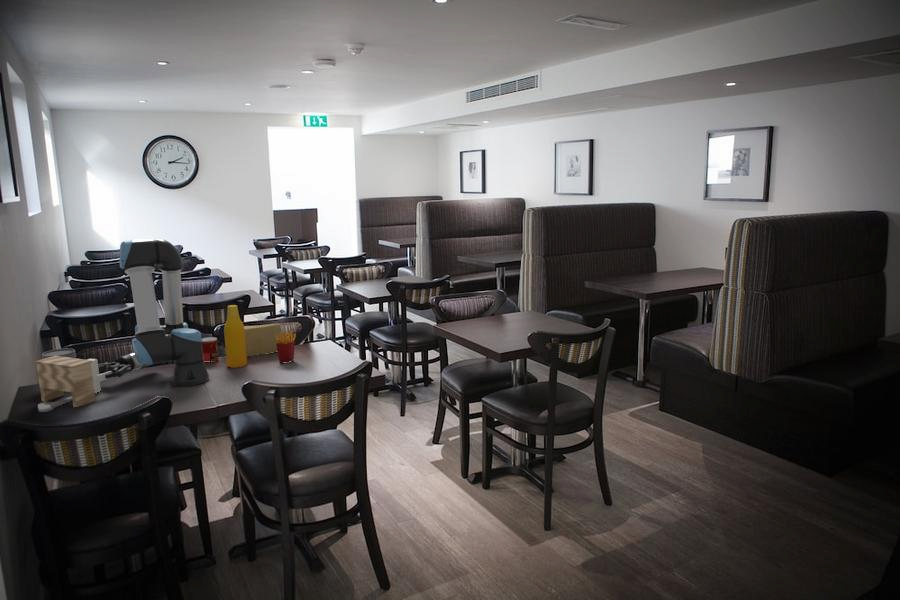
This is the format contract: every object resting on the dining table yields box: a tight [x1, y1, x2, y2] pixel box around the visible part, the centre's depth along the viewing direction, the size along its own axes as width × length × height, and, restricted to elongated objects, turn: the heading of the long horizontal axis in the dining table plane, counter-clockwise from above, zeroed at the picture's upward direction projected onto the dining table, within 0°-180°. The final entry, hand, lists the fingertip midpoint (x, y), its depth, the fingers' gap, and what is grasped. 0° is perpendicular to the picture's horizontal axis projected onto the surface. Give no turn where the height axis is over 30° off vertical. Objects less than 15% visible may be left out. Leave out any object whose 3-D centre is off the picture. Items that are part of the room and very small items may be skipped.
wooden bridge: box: [34, 356, 96, 408], centre depth 241 cm, size 21×9×17 cm, turn 68°
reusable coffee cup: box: [41, 348, 77, 360], centre depth 261 cm, size 13×13×15 cm
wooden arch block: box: [52, 358, 102, 409], centre depth 244 cm, size 20×4×14 cm, turn 158°
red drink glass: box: [201, 336, 220, 362], centre depth 297 cm, size 8×8×11 cm
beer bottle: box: [223, 304, 248, 369], centre depth 287 cm, size 9×9×29 cm
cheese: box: [244, 323, 283, 358], centre depth 308 cm, size 22×10×15 cm, turn 111°
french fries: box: [275, 330, 297, 363], centre depth 294 cm, size 9×8×15 cm
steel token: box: [37, 401, 55, 413], centre depth 234 cm, size 5×5×2 cm
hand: (85, 377), depth 249 cm, fingers open, 13 cm apart
